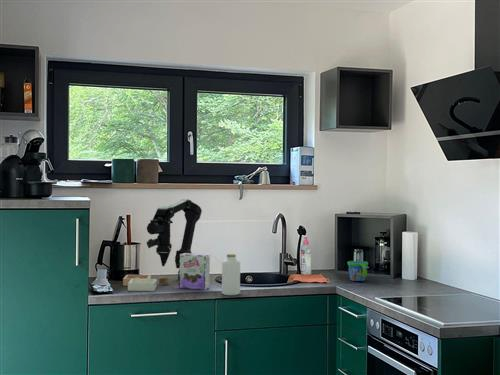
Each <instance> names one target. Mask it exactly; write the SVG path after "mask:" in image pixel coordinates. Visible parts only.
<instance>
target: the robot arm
mask: <svg viewBox="0 0 500 375" xmlns="http://www.w3.org/2000/svg"><path fill="white" fill-rule="evenodd" d="M156 209H157V210H156V212H155V214H154V216H153V217H152V218H153V219H150V223H147V226H146V230H147V233H148V234H149V235H157V237H156V238H149V239H147V240H148V241H146V245H147V248H148V249H150V248H152V247H155V246H157V247H156V248H155V252H156V254H157V255H159V257H160V263H161V267H165V266H166V264H167V262H168V259H169V256H170V254H171V251H172V247H173V246H172V245H173V244H172V242H171V224H173V220H171V219H173V217H174V216H175V214H176V213H178V212H181V211H182V212H183V213H184V219H185V227H184V232H183V236H182V237H183V238H182V241H181V246H180V249H179V250H176V252H175V256H174V262H175V268H176V269H179V257H180V254H182V253H190V254H193V253H192V245H193V244H192V243H193V239H194V234H195V229H196V224H197V222H198V221H199V220H200V219H201V215H202V213H203V212H202V208H201V206H200V205H199V204H197V203H195V202H193V201H192V200H190V199H189V198H188V199H186V198H182V199H180V200H179V201H177V202H175V203H173V204H170V205H168V206H166V205H165V206H159V207H158V208H156ZM177 280H178V281H179V270H178V272H177Z"/></svg>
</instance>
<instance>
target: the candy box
mask: <svg viewBox="0 0 500 375" xmlns="http://www.w3.org/2000/svg"><path fill="white" fill-rule="evenodd" d="M210 261H211V254H205V253H204V254H202V253H192V254H190V253H182V254H180V257H179V268H178V271H179V280H178V288H179V289H185V290H186V289H188V290H196V291H197V290H199V291H207V290H209V289H210V275H211V274H210V269H211V268H210V264H211V263H210Z"/></svg>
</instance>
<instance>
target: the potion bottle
mask: <svg viewBox="0 0 500 375" xmlns="http://www.w3.org/2000/svg"><path fill="white" fill-rule="evenodd" d="M236 258H237V255H236V254H234V253H229V254H226V258H225V259H224V260H223V261H222V262H221V294H223V295H225V296H238V295H239V294H240V292H241V262H240V260H239V259H236Z"/></svg>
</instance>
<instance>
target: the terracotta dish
mask: <svg viewBox="0 0 500 375" xmlns="http://www.w3.org/2000/svg"><path fill="white" fill-rule="evenodd" d="M136 277H139V278H136ZM151 277H152V275H151V274H126V275H125V276H124V277H123V278H122V286H123V287H128V283H129V281H130V280H131V279H152V278H151Z"/></svg>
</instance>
